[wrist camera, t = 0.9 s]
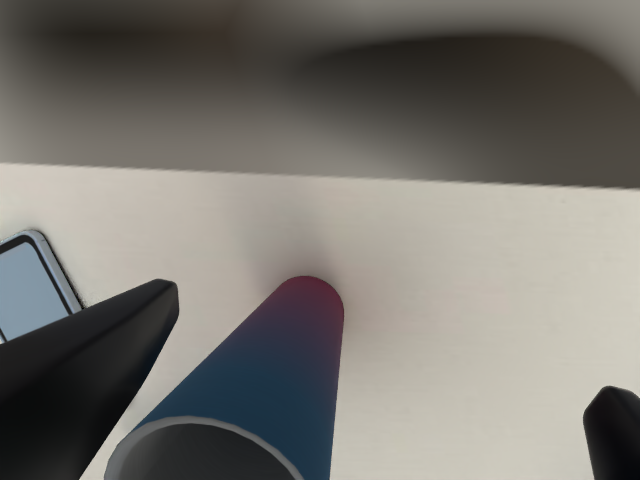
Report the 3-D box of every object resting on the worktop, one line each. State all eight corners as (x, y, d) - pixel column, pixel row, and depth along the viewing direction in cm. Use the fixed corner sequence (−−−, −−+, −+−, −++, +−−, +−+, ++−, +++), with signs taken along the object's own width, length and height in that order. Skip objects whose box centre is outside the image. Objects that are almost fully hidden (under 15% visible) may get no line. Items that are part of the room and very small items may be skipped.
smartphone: (30, 226, 27) (128, 411, 28) (42, 224, 27) (136, 403, 29) (-44, 263, 28) (53, 435, 30) (-30, 260, 29) (63, 427, 31)
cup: (352, 259, 24) (308, 417, 10) (362, 356, 26) (335, 620, 11) (251, 265, 25) (78, 414, 11) (265, 358, 27) (128, 598, 12)
